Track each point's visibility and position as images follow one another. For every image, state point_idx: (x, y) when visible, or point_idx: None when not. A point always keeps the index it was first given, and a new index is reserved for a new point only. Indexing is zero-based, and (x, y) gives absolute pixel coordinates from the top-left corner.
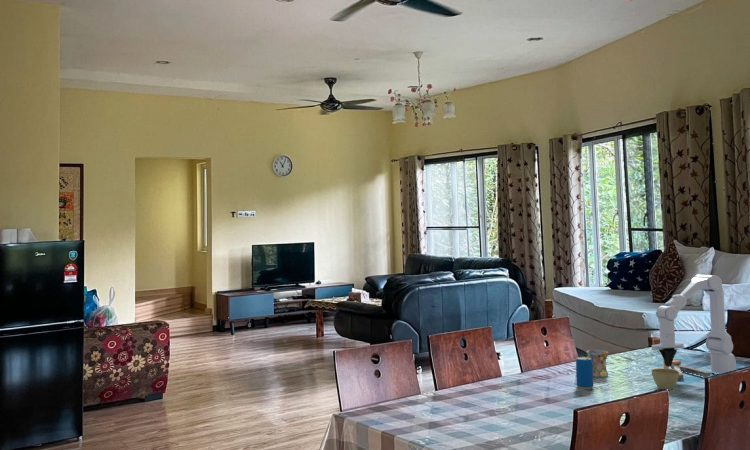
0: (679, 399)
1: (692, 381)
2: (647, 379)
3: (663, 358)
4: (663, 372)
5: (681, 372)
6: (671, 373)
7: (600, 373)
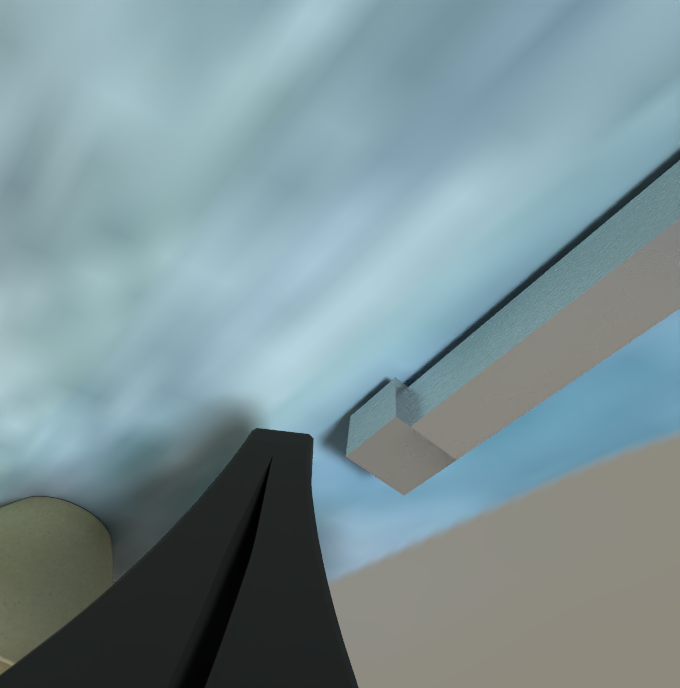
0: None
1: (457, 487)
2: (60, 227)
3: (172, 536)
4: (4, 606)
5: (506, 420)
6: None
7: None
